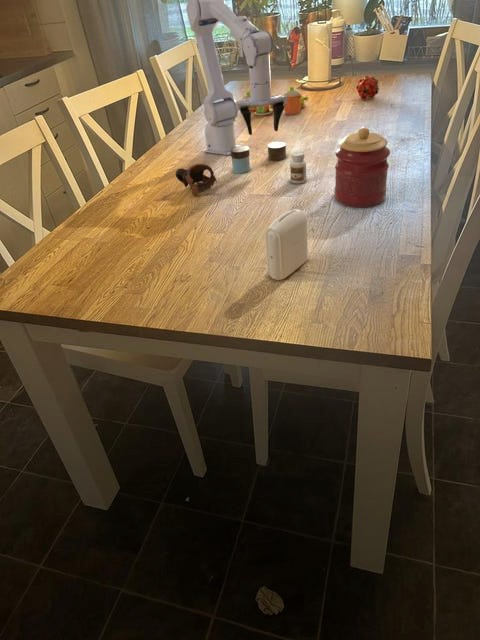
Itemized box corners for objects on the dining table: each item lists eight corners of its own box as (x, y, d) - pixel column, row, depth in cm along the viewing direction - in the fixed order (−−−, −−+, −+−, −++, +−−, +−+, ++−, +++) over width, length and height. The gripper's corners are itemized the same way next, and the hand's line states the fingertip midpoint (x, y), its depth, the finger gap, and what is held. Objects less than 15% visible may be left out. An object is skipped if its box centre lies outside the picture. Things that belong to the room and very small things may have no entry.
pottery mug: (219, 183, 145) (220, 164, 138) (210, 208, 142) (210, 190, 134) (180, 173, 146) (178, 153, 138) (170, 198, 142) (168, 180, 134)
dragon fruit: (370, 97, 206) (366, 110, 199) (354, 85, 205) (349, 97, 197) (384, 80, 200) (380, 92, 192) (367, 67, 198) (362, 79, 191)
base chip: (265, 159, 156) (264, 153, 155) (274, 153, 159) (273, 147, 158) (280, 161, 153) (280, 155, 152) (289, 155, 157) (289, 149, 155)
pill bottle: (288, 183, 139) (288, 156, 135) (292, 177, 142) (292, 150, 138) (304, 184, 138) (303, 156, 133) (307, 178, 141) (307, 151, 136)
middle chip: (264, 153, 155) (264, 146, 153) (273, 147, 158) (273, 141, 157) (280, 155, 152) (280, 148, 151) (289, 149, 155) (288, 142, 154)
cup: (229, 172, 150) (228, 157, 147) (239, 166, 153) (237, 151, 151) (244, 174, 148) (242, 159, 145) (253, 168, 151) (252, 153, 148)
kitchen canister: (355, 213, 121) (359, 140, 110) (324, 196, 131) (325, 127, 120) (396, 199, 125) (404, 127, 115) (363, 183, 135) (368, 116, 124)
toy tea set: (308, 103, 201) (308, 78, 195) (307, 115, 189) (306, 87, 183) (245, 107, 206) (243, 82, 200) (239, 118, 194) (237, 91, 188)
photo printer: (282, 283, 100) (279, 227, 92) (265, 276, 102) (261, 222, 95) (310, 260, 106) (310, 206, 98) (294, 255, 108) (292, 202, 101)
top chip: (227, 157, 147) (226, 150, 146) (237, 151, 151) (237, 144, 150) (242, 159, 145) (242, 153, 143) (253, 153, 148) (252, 146, 147)
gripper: (236, 88, 133) (240, 139, 141) (289, 81, 134) (290, 132, 142) (232, 83, 139) (237, 132, 147) (283, 76, 140) (284, 125, 148)
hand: (263, 132), depth 145 cm, fingers open, 7 cm apart
